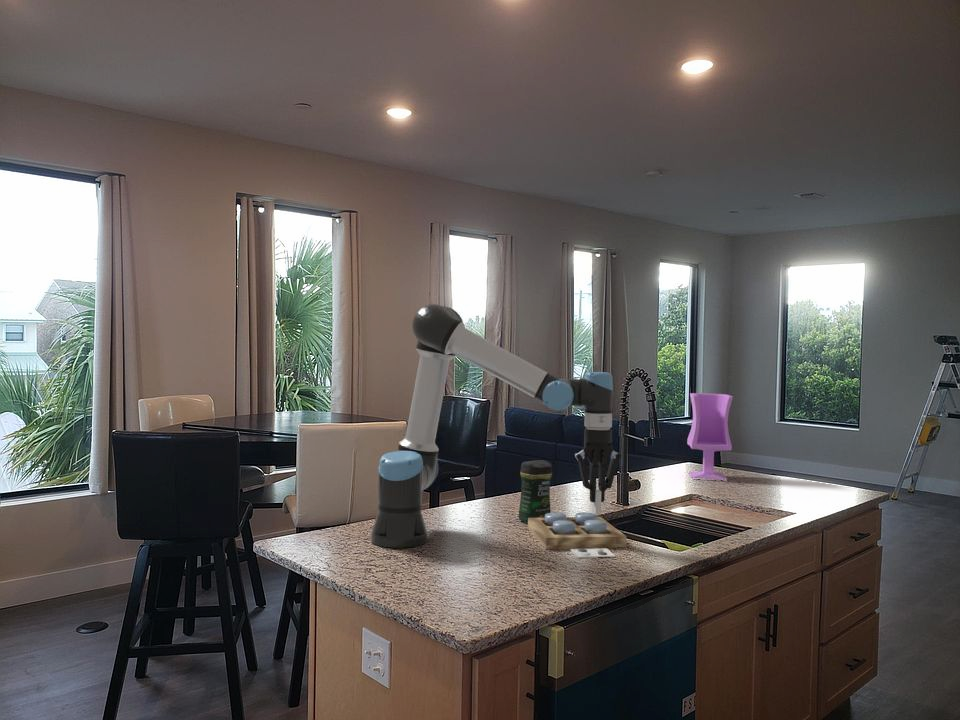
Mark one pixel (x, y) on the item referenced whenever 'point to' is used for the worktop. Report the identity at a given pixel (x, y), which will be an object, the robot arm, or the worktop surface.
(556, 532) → the button
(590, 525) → the button
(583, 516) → the button
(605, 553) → the card
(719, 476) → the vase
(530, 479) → the coffee jar
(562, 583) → the worktop surface
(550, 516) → the button
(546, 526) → the board
